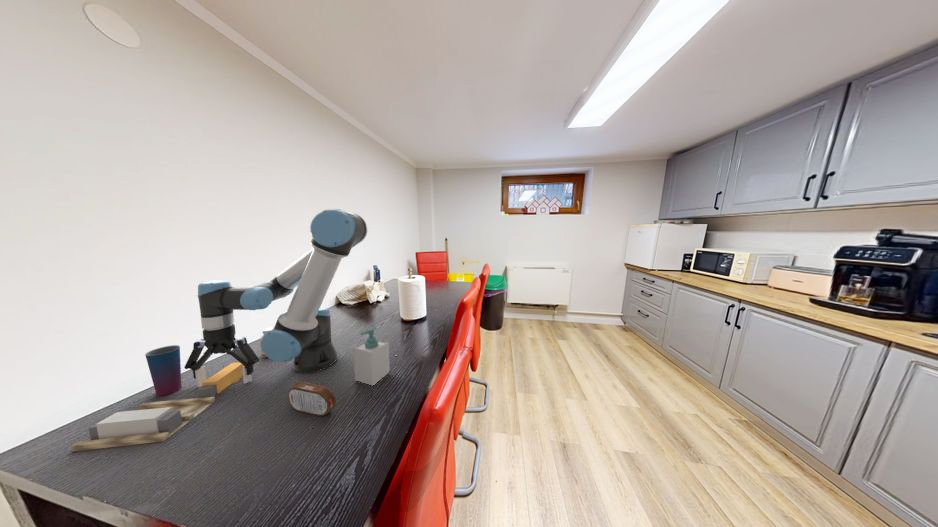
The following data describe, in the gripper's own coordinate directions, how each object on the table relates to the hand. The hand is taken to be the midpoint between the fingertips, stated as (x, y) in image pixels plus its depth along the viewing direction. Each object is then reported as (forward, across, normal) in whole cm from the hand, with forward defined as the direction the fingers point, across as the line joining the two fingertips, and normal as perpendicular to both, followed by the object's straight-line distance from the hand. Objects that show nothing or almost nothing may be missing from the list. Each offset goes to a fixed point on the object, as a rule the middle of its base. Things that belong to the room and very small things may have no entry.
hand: (225, 384), depth 82 cm
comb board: (0, +5, +17) cm, 18 cm away
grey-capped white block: (-1, +5, +20) cm, 21 cm away
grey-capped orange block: (0, 0, 0) cm, 0 cm away
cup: (0, +14, +2) cm, 14 cm away
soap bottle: (0, -49, +3) cm, 49 cm away
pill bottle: (0, -2, -21) cm, 21 cm away
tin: (0, -35, +18) cm, 40 cm away
